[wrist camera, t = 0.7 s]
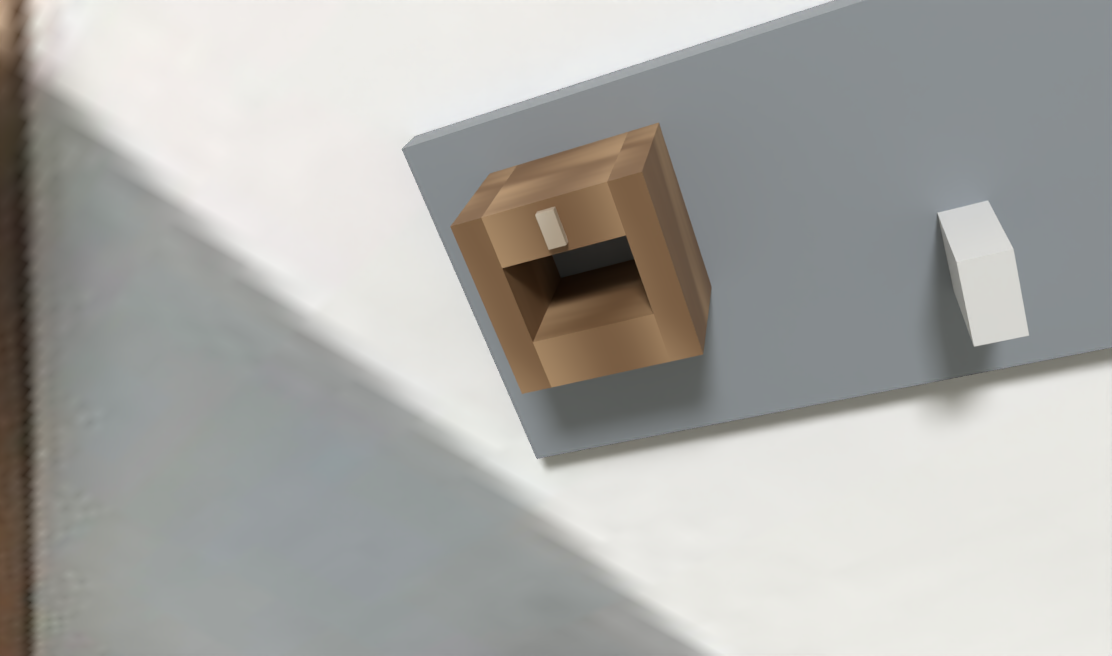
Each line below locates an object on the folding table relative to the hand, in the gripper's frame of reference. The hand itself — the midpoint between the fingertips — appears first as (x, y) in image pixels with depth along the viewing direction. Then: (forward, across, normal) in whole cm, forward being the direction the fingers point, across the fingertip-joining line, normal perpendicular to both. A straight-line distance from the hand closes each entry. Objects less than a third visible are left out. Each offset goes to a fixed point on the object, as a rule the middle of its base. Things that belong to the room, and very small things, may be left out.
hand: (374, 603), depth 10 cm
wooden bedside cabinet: (+26, +1, +7) cm, 27 cm away
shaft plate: (+28, -5, +5) cm, 28 cm away
